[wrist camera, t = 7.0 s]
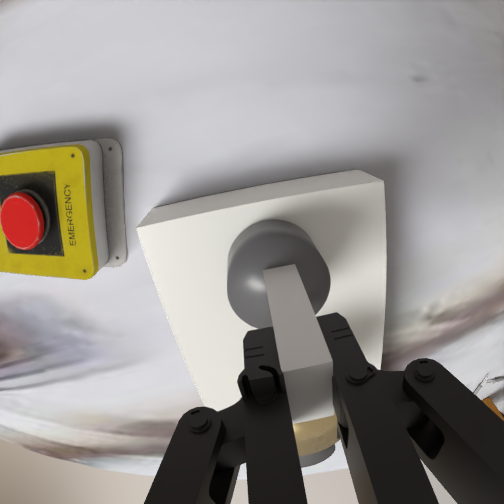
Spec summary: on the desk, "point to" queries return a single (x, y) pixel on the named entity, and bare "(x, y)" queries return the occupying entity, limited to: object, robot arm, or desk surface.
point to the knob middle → (315, 434)
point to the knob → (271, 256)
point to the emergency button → (62, 208)
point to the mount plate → (216, 258)
